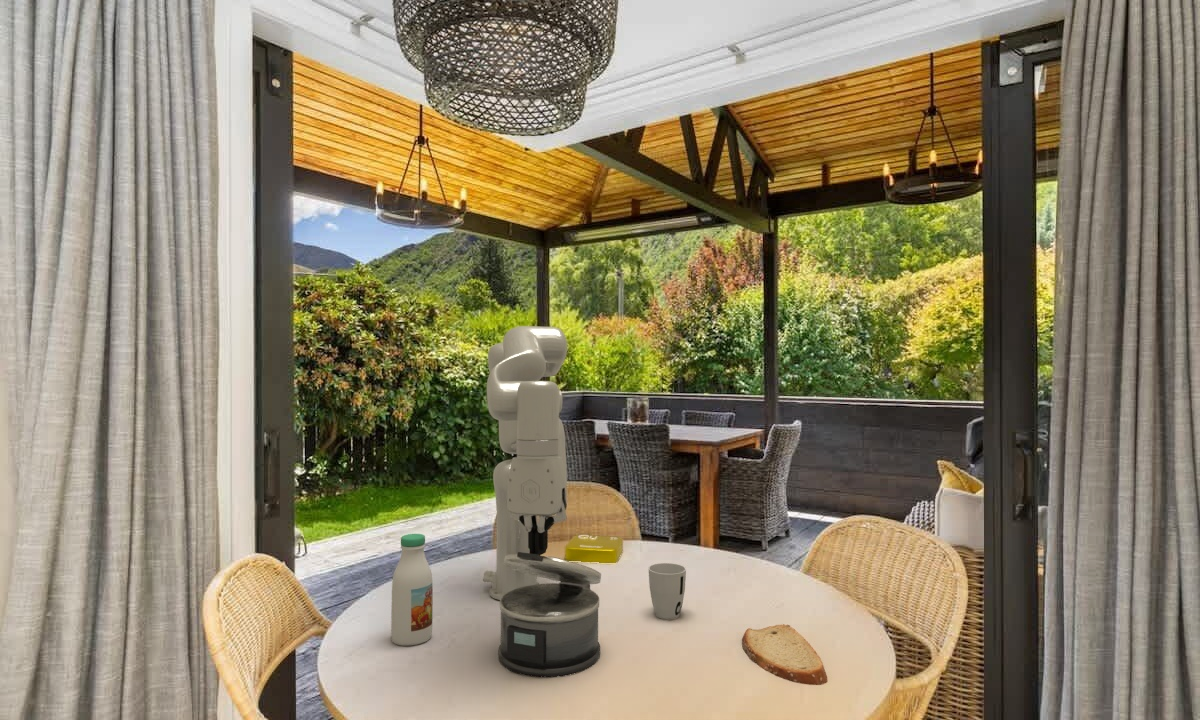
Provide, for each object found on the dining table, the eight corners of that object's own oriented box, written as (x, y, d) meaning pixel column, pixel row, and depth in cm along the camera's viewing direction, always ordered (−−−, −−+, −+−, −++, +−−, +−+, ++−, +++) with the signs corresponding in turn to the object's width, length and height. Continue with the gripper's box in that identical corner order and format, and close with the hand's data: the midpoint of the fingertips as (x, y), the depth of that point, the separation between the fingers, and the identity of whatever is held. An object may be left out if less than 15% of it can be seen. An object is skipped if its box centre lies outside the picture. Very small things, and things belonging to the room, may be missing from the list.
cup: (684, 623, 133) (684, 575, 133) (646, 620, 134) (646, 572, 135) (687, 609, 141) (687, 564, 141) (650, 607, 142) (650, 561, 143)
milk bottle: (394, 650, 119) (396, 542, 120) (388, 635, 126) (389, 533, 127) (436, 642, 123) (437, 538, 123) (427, 628, 130) (428, 529, 130)
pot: (477, 667, 112) (477, 609, 113) (535, 622, 133) (535, 574, 133) (574, 686, 105) (574, 625, 106) (619, 636, 126) (619, 585, 126)
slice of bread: (822, 691, 105) (822, 668, 105) (720, 663, 115) (719, 642, 115) (847, 652, 120) (847, 632, 120) (754, 631, 130) (754, 612, 130)
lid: (481, 553, 113) (484, 538, 115) (530, 578, 131) (533, 565, 132) (575, 564, 107) (578, 549, 108) (614, 589, 124) (616, 575, 125)
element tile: (563, 563, 177) (563, 546, 178) (574, 549, 192) (574, 533, 192) (616, 566, 175) (616, 548, 175) (623, 551, 190) (623, 535, 190)
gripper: (490, 450, 114) (490, 555, 112) (567, 452, 108) (567, 562, 107) (511, 447, 120) (511, 546, 119) (584, 449, 115) (585, 552, 114)
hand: (537, 553), depth 113 cm, fingers closed
